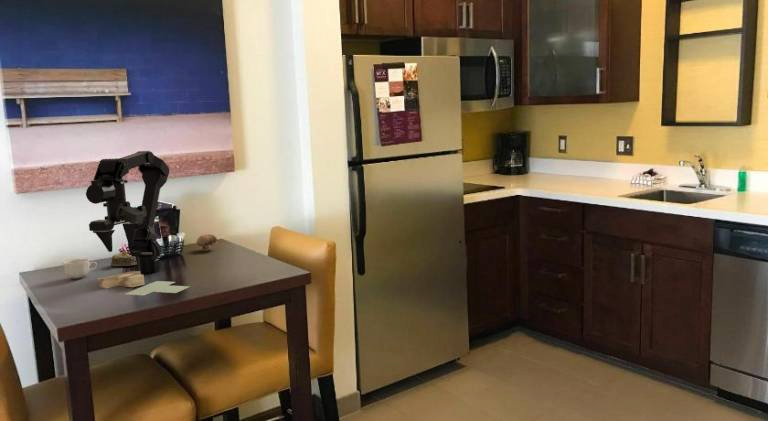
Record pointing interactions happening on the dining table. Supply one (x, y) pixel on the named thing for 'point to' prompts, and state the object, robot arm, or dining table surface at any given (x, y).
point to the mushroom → (206, 241)
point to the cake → (123, 259)
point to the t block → (122, 280)
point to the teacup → (77, 267)
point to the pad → (157, 288)
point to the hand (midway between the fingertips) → (120, 248)
